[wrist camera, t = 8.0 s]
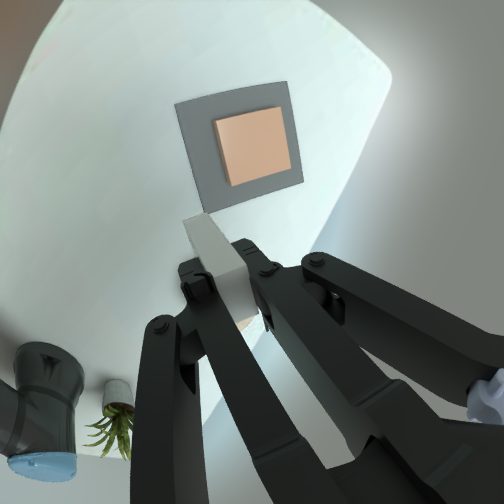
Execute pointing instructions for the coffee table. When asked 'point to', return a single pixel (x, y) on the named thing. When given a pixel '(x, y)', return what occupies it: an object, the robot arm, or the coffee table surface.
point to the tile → (252, 144)
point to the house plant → (116, 416)
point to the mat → (207, 151)
